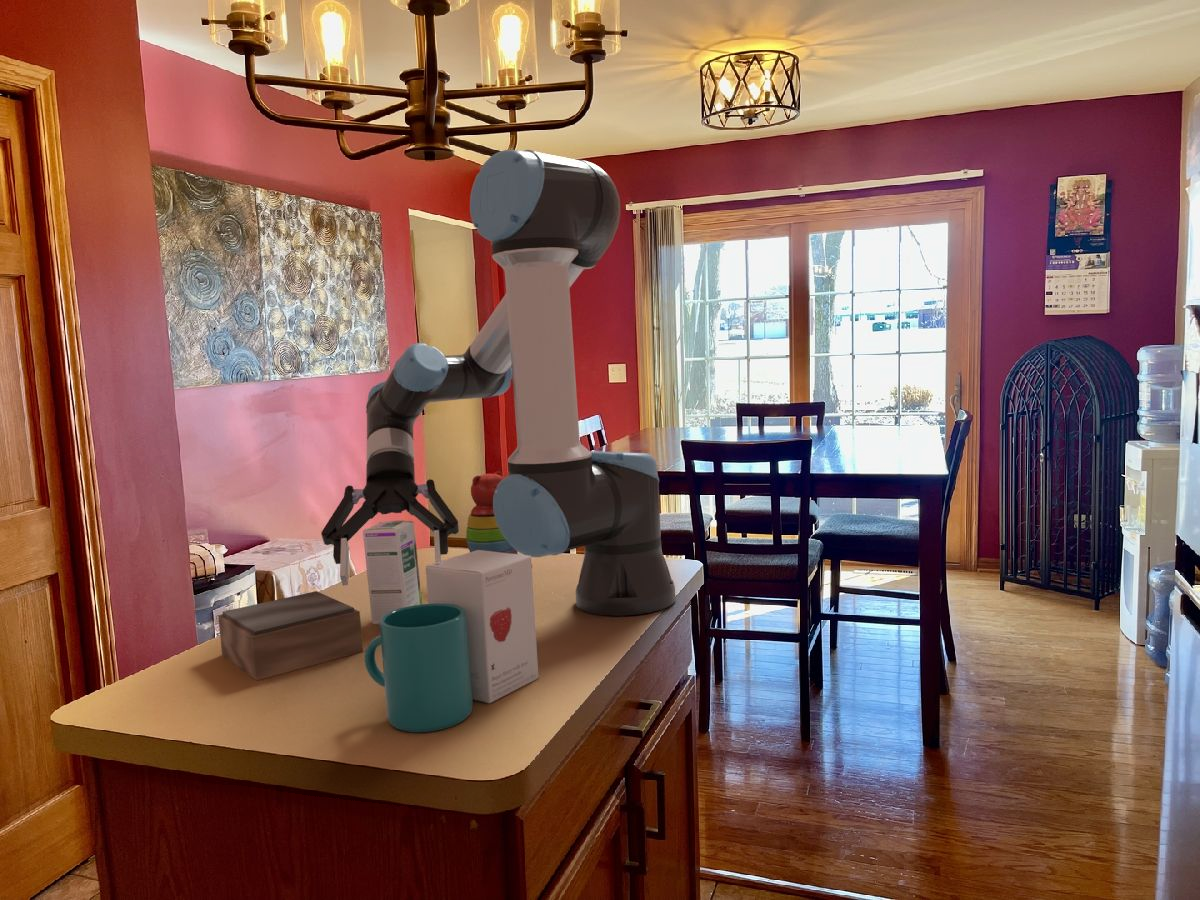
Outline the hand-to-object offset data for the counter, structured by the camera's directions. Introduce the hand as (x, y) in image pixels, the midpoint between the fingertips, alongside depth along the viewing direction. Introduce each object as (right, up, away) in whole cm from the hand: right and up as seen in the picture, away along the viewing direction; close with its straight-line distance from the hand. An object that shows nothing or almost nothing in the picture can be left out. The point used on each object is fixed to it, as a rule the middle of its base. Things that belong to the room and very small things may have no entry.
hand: (391, 576), depth 128 cm
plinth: (-11, -9, -11) cm, 18 cm away
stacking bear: (+12, -3, +29) cm, 31 cm away
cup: (+11, -10, -34) cm, 37 cm away
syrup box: (0, -7, +2) cm, 7 cm away
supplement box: (+17, -9, -26) cm, 33 cm away
